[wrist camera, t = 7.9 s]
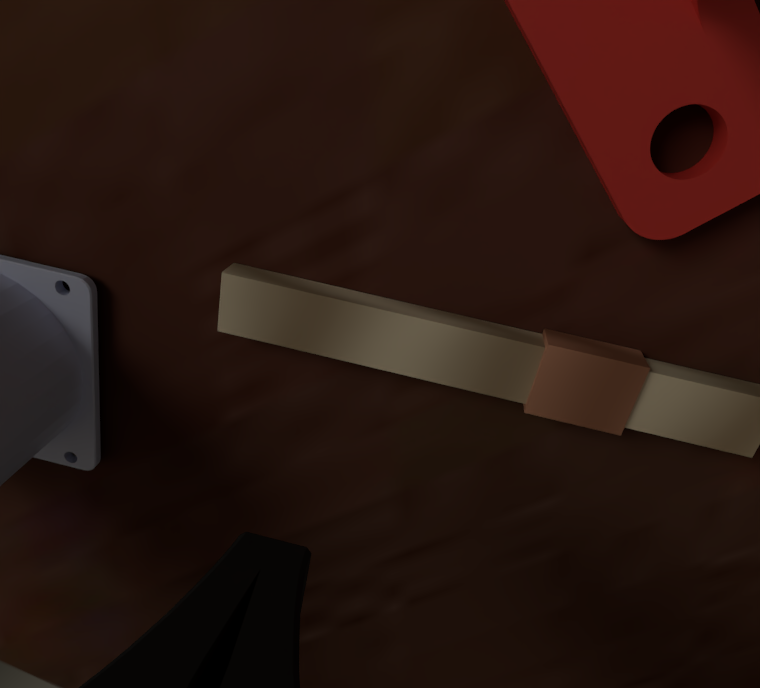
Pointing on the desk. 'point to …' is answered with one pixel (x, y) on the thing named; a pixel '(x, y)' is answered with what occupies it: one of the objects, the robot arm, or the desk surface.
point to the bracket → (655, 97)
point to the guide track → (495, 360)
